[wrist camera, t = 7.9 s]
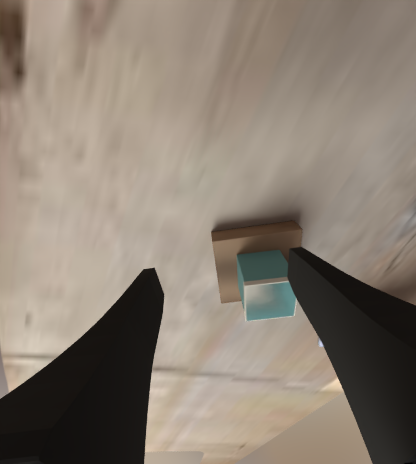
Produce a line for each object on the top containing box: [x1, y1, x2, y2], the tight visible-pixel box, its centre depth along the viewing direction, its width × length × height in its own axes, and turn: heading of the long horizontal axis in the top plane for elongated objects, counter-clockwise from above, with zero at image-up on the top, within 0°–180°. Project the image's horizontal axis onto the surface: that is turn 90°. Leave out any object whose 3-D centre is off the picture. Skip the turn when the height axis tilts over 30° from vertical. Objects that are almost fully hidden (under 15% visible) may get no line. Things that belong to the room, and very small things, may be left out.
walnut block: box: [211, 221, 302, 303], centre depth 23 cm, size 9×9×2 cm
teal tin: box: [237, 250, 297, 322], centre depth 20 cm, size 5×5×5 cm
